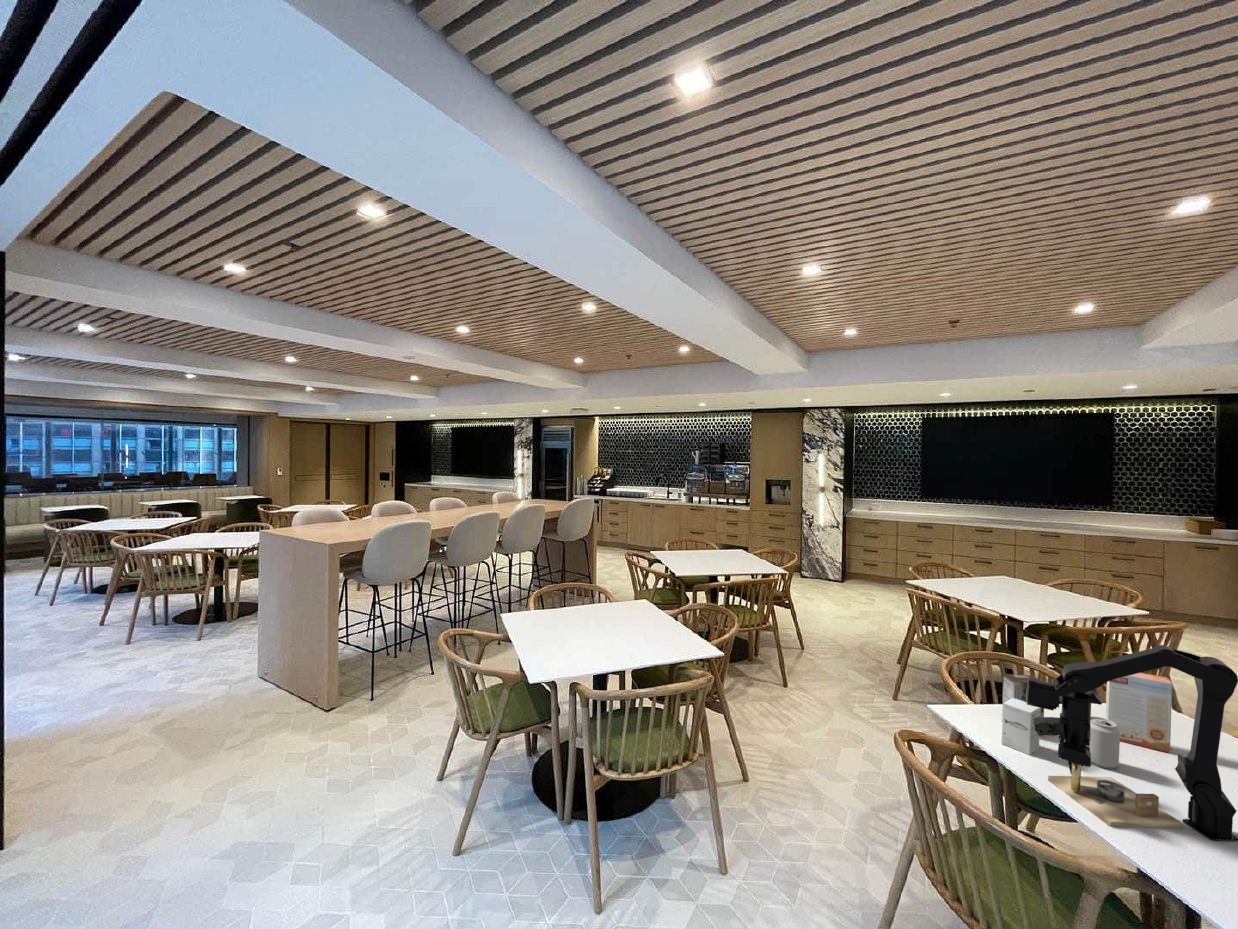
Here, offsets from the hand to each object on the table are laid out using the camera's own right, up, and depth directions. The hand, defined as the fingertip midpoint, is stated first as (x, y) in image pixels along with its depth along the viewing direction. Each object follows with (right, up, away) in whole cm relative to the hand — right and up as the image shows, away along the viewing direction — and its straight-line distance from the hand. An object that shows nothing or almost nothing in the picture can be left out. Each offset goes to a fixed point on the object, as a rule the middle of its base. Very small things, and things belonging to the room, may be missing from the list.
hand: (1073, 774), depth 140 cm
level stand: (+6, -4, -4) cm, 8 cm away
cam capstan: (+3, -3, -4) cm, 6 cm away
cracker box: (+41, -5, +26) cm, 49 cm away
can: (+19, -5, +14) cm, 24 cm away
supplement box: (+2, -4, +21) cm, 22 cm away
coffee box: (+11, -4, +33) cm, 35 cm away
